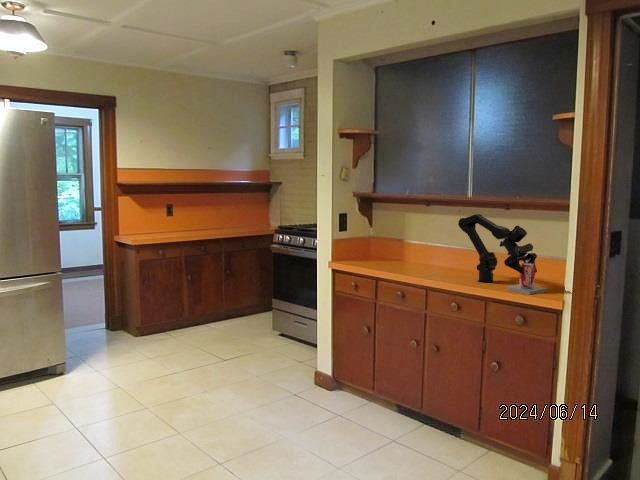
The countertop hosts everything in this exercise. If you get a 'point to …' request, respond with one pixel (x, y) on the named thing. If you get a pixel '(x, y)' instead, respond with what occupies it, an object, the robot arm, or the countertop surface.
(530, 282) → the soda can
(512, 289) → the slate board
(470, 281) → the countertop surface
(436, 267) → the countertop surface
